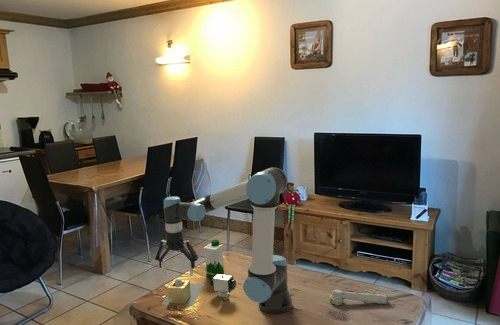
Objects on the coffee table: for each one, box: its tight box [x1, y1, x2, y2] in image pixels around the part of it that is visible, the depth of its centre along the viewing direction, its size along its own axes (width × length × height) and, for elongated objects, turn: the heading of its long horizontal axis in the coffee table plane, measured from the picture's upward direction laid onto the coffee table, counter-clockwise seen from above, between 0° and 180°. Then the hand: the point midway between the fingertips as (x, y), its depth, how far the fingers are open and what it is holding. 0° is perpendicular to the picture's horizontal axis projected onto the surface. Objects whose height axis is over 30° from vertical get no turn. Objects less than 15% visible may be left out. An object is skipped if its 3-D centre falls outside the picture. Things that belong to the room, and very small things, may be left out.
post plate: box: [160, 278, 206, 307], centre depth 194 cm, size 15×22×12 cm
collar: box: [167, 279, 191, 304], centre depth 188 cm, size 8×8×8 cm
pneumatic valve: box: [209, 273, 237, 301], centre depth 191 cm, size 6×12×12 cm, turn 68°
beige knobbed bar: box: [329, 289, 389, 306], centre depth 181 cm, size 5×7×25 cm
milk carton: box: [203, 239, 225, 279], centre depth 212 cm, size 9×9×20 cm
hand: (177, 274), depth 187 cm, fingers open, 13 cm apart
